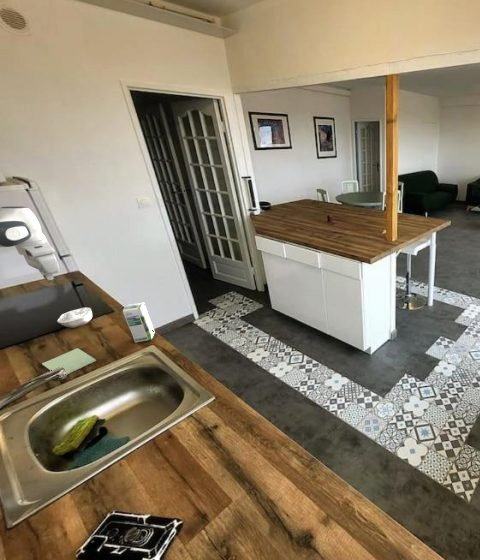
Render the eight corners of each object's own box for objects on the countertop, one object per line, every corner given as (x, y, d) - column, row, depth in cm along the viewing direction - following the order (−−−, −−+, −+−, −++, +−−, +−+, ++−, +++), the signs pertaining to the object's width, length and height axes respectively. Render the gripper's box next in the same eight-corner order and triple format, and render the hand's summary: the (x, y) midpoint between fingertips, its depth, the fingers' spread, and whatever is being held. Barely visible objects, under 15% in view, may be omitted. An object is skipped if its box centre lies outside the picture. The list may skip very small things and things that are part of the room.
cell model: (102, 316, 138) (97, 303, 135) (82, 331, 127) (75, 317, 124) (77, 317, 136) (70, 304, 133) (54, 333, 125) (47, 319, 123)
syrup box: (134, 343, 121) (121, 311, 114) (138, 335, 125) (126, 304, 119) (152, 340, 123) (140, 308, 117) (155, 332, 128) (144, 301, 121)
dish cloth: (59, 377, 103) (59, 377, 103) (42, 364, 109) (41, 363, 109) (96, 360, 111) (96, 359, 111) (78, 348, 117) (77, 348, 117)
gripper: (11, 245, 123) (28, 276, 129) (33, 254, 115) (49, 287, 121) (33, 240, 128) (48, 271, 134) (55, 249, 120) (70, 281, 126)
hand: (49, 278), depth 127 cm, fingers closed
